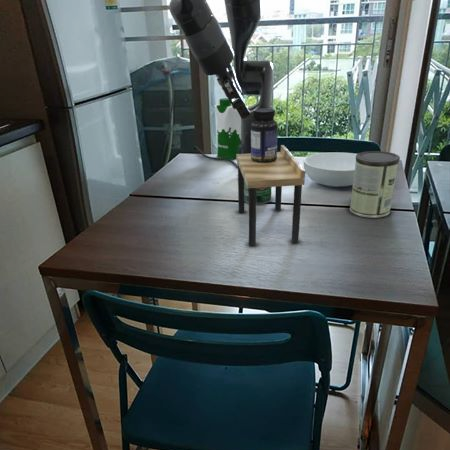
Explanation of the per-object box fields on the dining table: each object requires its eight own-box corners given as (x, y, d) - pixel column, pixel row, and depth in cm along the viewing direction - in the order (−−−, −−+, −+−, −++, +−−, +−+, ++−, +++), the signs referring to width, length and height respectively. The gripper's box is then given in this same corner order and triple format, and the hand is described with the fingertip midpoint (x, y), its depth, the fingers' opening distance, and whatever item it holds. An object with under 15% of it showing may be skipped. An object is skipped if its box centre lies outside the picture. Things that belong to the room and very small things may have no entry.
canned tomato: (256, 192, 130) (256, 154, 124) (277, 198, 125) (278, 159, 119) (237, 200, 125) (237, 160, 119) (258, 206, 120) (258, 166, 114)
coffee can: (353, 201, 121) (360, 149, 113) (392, 206, 117) (402, 152, 110) (345, 215, 113) (352, 159, 106) (386, 220, 109) (397, 163, 102)
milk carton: (213, 157, 165) (211, 99, 154) (229, 152, 170) (228, 95, 160) (231, 160, 160) (230, 101, 149) (247, 155, 165) (247, 97, 155)
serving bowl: (376, 176, 139) (379, 154, 136) (365, 197, 124) (368, 173, 120) (311, 170, 147) (313, 149, 143) (293, 189, 131) (295, 166, 127)
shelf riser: (237, 211, 118) (236, 147, 109) (281, 208, 118) (283, 145, 109) (247, 246, 99) (247, 173, 90) (300, 243, 100) (305, 170, 91)
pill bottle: (276, 156, 107) (278, 107, 101) (276, 163, 102) (278, 112, 96) (251, 156, 107) (251, 107, 101) (250, 163, 102) (250, 112, 96)
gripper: (230, 50, 85) (263, 114, 98) (218, 18, 94) (250, 81, 106) (197, 71, 88) (233, 131, 100) (189, 38, 96) (223, 98, 108)
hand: (242, 106), depth 103 cm, fingers open, 8 cm apart
